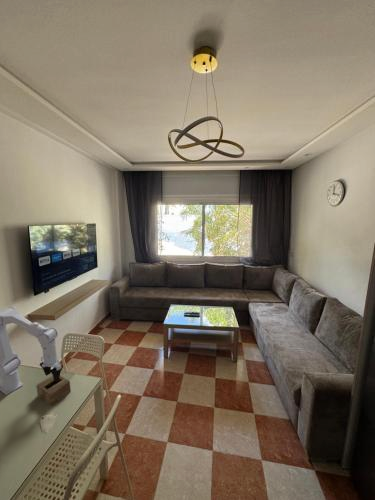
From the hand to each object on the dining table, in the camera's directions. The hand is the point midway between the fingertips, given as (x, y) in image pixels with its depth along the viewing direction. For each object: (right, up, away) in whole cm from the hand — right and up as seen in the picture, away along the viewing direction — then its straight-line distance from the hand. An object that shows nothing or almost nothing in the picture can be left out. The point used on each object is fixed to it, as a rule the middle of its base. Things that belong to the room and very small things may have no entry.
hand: (52, 377), depth 114 cm
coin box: (0, -9, +2) cm, 10 cm away
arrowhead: (+7, -13, -14) cm, 21 cm away
